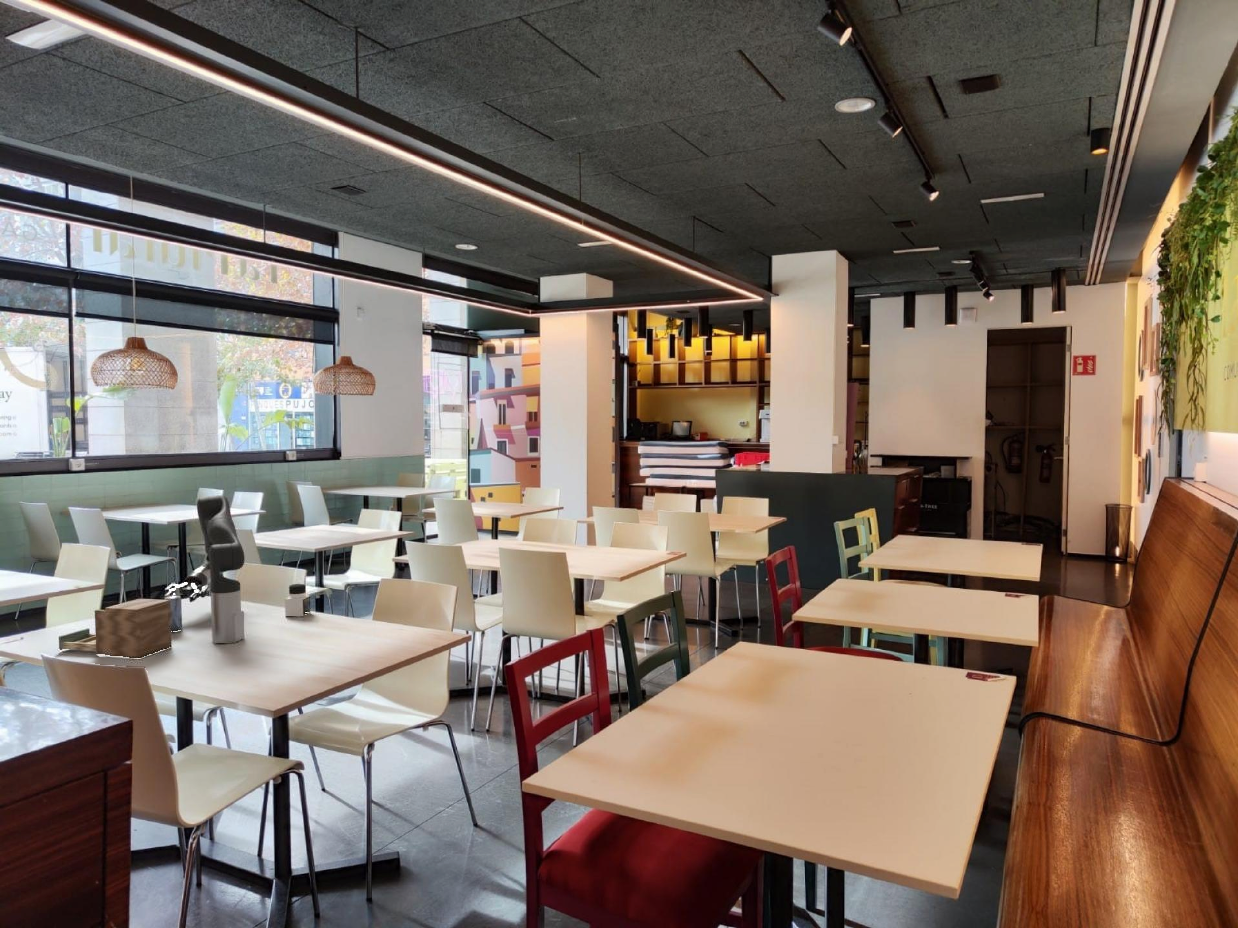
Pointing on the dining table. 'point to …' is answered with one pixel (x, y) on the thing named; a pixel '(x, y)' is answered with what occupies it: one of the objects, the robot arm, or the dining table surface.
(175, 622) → the can
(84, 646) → the wooden drawer
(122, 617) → the walnut box
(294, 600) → the medicine bottle
